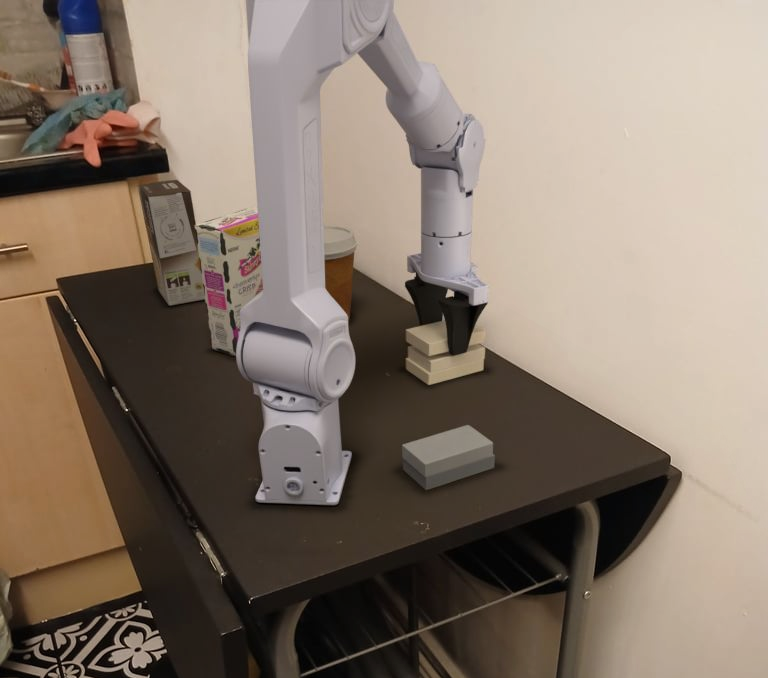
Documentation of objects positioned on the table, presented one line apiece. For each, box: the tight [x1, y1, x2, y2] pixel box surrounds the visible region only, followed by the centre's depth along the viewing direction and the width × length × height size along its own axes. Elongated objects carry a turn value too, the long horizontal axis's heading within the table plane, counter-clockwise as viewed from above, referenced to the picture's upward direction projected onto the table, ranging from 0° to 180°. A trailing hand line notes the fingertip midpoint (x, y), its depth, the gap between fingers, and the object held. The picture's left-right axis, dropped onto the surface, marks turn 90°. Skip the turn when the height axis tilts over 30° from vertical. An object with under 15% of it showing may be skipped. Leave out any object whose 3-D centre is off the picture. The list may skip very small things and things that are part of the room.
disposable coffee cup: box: [324, 225, 358, 322], centre depth 110 cm, size 10×10×12 cm
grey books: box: [401, 424, 496, 491], centre depth 78 cm, size 8×4×3 cm, turn 119°
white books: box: [404, 343, 486, 386], centre depth 98 cm, size 8×6×3 cm
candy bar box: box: [194, 206, 263, 357], centre depth 104 cm, size 11×5×16 cm, turn 146°
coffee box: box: [137, 179, 205, 307], centre depth 120 cm, size 9×6×16 cm
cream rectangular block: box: [404, 319, 487, 356], centre depth 96 cm, size 8×6×2 cm
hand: (444, 344), depth 97 cm, fingers closed on cream rectangular block, 5 cm apart
